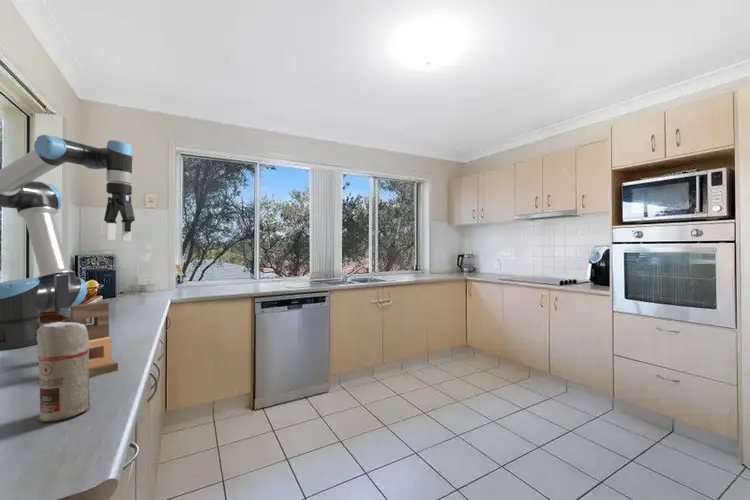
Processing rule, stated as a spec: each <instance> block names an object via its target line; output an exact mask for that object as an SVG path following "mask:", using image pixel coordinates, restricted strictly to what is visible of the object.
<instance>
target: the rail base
mask: <svg viewBox="0 0 750 500" xmlns="http://www.w3.org/2000/svg"><path fill="white" fill-rule="evenodd" d="M109 304H110V303H109V302H107V301H100V302H91V303H80V304H78V305H73V306H70V307H69V308H70V318H66V319H62V320H61V322H75V323H80V324H84V325H85V327H86V329H87V332H88V338H89V340H94V339H99V338H104V337H110V319H109V318H110V315H109V313H110V312H109V311H110V310H109V309H110V307H109ZM86 318H92V319H93V323H90V324H86ZM98 356H101V346H100V347H96V348H91V349H89V358H93V357H98ZM112 371H113V372H116V371H119V364H118V362H116V361H114V360H112V362H109V363H105V364H101V365H96V366H92V367H89V379H90V378H93V376H94V377H97V375H98V376H101V374H102V375H105V374H109V373H112ZM104 373H105V374H104Z"/></svg>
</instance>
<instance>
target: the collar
mask: <svg viewBox="0 0 750 500" xmlns="http://www.w3.org/2000/svg"><path fill="white" fill-rule="evenodd" d="M100 346H101V356H98V357H93V358H89V367H92V366H96V365H101V364H105V363H109V362H112V361H113V360H112V359H113V357H112V356H113V355H112V337H110V336H109V337H104V338H99V339H94V340H89V348H88V352H89V349H91V348H96V347H100Z"/></svg>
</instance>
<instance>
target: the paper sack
mask: <svg viewBox="0 0 750 500" xmlns="http://www.w3.org/2000/svg"><path fill="white" fill-rule="evenodd" d="M37 342H38V344H37V359H38V372H39V373H38V374H39V375H38V376H39V379H38V380H39V383H38V384H39V385H38V386H39V411H40V412H39V416H38V421H39V422H57V421H62V420H66V419H69V418H72V417H75V416H77V415H79V414H82V413H84V412H86V411H88V410H89V409H91V404H90V400H91V399H90V394H91V393H90V378H89V352H88V348H89V338H88V332H87V329H86V327H85V325H84V324H80V323H75V322H62V321H57V322H50V323H46V324H42V326H40V327H39V329H38V330H37Z"/></svg>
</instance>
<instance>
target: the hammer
mask: <svg viewBox="0 0 750 500" xmlns="http://www.w3.org/2000/svg"><path fill="white" fill-rule="evenodd" d="M54 298H55V309H54V312H57V315H60V316H63V317H65V318H66V319H70V307H69V275H66V274H65V275H54ZM90 324H93V317H92V318H86V325H90Z"/></svg>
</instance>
